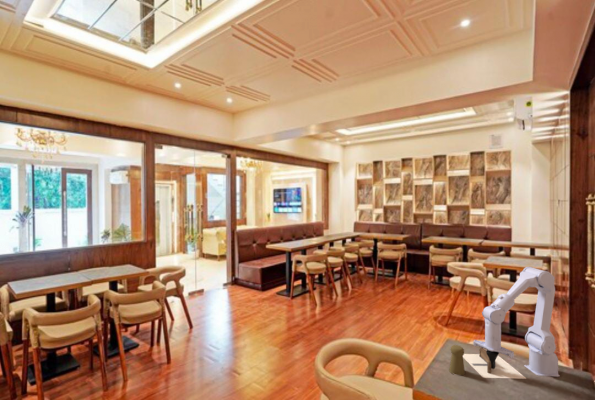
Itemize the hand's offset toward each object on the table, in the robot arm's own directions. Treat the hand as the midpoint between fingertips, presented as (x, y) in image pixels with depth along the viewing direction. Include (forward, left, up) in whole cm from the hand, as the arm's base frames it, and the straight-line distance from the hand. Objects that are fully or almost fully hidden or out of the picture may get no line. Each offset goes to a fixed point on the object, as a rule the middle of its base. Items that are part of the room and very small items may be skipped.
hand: (492, 367), depth 132 cm
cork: (+15, +1, -2) cm, 16 cm away
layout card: (-2, -5, -2) cm, 5 cm away
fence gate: (+1, -1, -1) cm, 2 cm away
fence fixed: (-2, -8, -1) cm, 9 cm away
